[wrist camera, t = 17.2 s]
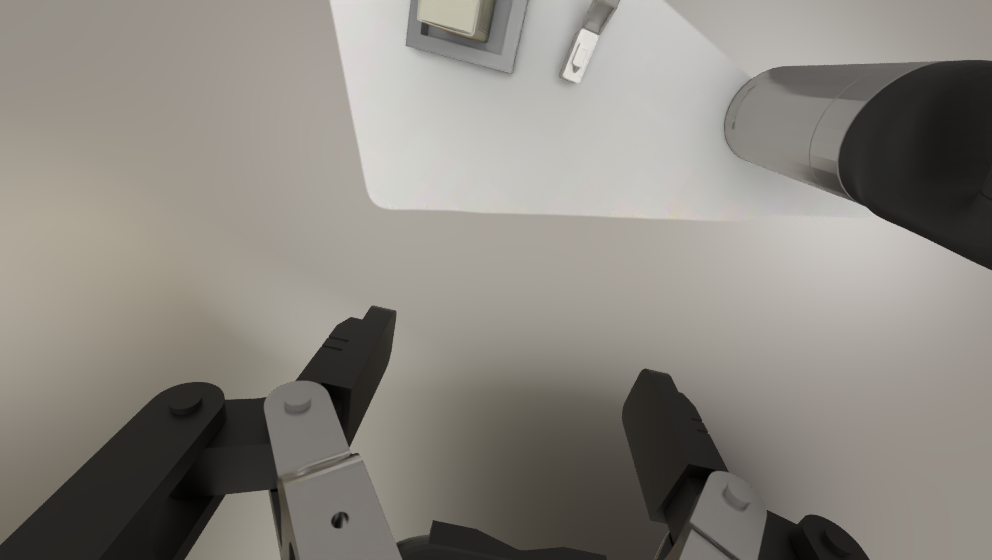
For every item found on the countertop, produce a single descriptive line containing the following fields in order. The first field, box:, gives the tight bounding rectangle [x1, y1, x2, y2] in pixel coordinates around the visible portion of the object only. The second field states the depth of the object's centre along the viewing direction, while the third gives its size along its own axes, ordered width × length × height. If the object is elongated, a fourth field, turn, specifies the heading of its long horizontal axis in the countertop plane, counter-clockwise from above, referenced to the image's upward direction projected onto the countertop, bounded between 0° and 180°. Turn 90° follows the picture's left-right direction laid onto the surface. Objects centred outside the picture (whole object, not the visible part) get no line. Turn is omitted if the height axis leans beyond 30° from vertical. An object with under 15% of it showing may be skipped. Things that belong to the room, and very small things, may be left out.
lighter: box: [559, 0, 620, 83], centre depth 36 cm, size 7×2×8 cm, turn 160°
